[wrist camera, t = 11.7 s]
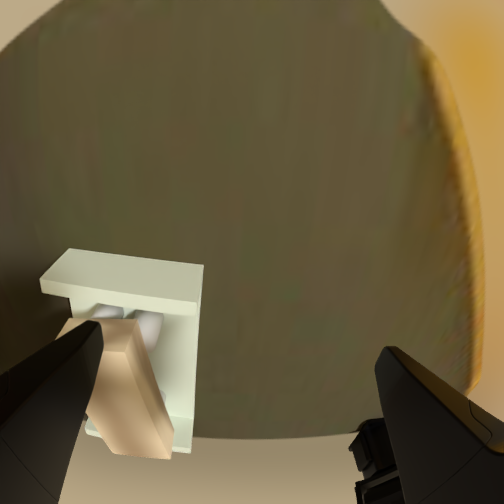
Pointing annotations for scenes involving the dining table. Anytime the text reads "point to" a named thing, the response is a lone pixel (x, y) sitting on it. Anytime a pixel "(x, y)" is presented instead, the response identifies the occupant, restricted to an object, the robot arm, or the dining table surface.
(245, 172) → the dining table surface
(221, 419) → the dining table surface
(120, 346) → the beige tapered block
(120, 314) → the pale green pegged panel
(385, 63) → the dining table surface
